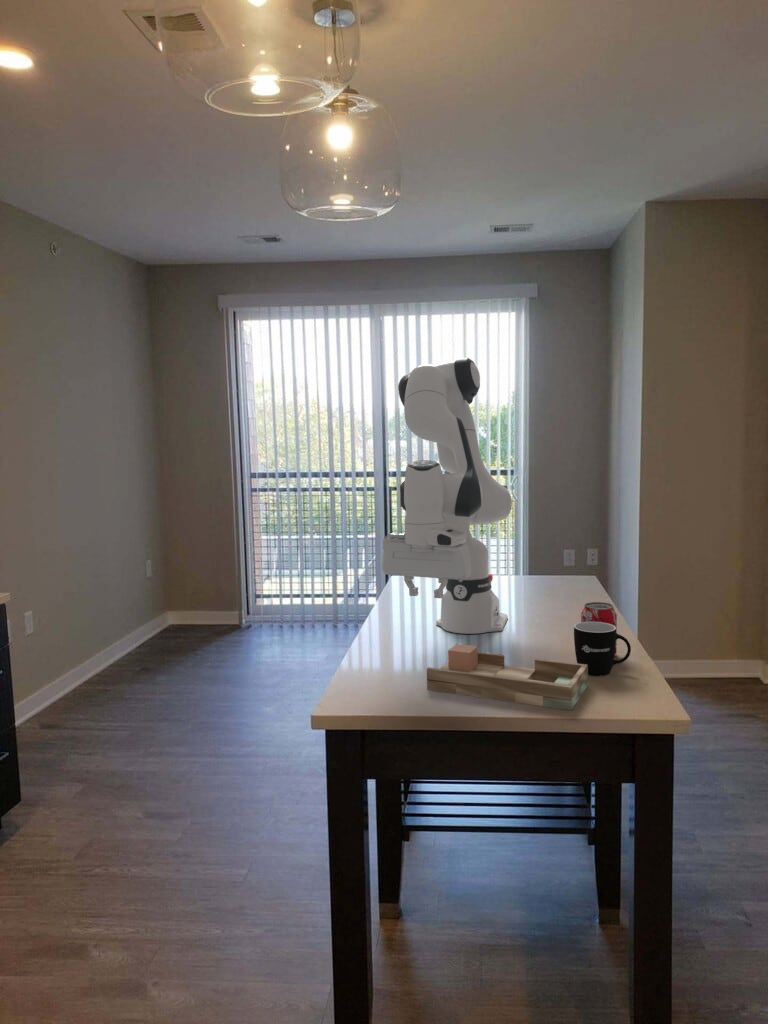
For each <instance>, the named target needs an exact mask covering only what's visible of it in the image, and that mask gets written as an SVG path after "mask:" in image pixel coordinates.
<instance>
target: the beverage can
mask: <svg viewBox="0 0 768 1024" xmlns="http://www.w3.org/2000/svg"><path fill="white" fill-rule="evenodd" d="M614 608H615V607H614V605H613V604H612V603H610V602H609V603H608V602H600V601H593V602H592V601H591V602H587V603H585V604H584V607H583V608H582V611H581V613H580V614H581V615H580V617H581V618H580V620H581V621H580V623H581V622H603V623H608V624H611V625H614V626H615V627H616V633H617V631H618V630H617V629H618V627H617V626H618V622H617V621H618V620H617V619H618V614H617V612H616V610H615V609H614ZM617 634H618V633H617ZM617 641H618V639H617V640H616V647H615V655H616V654H617V645H618V644H617Z"/></svg>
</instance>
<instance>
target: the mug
mask: <svg viewBox="0 0 768 1024" xmlns="http://www.w3.org/2000/svg"><path fill="white" fill-rule="evenodd" d="M618 639H619V640H622V641H623V642H624V643H625V644H626V647H627V650H626V651H627V652H626V654H625V655H624V656H623V657H622V658H621V659H620V658H619V659H615V655H616V654H615V647H616V640H617V641H618ZM573 640H574V641H573V642H574V651H575V652H574V653H575V659H576V663H578V664H586V665H588V676H590V677H604V676H607V675H609V674H610V673H611V671H612V669H613V667H614V666H615V665H619V664H622V663H624V662H626V660H628V659H629V657H630V656H631V652H632V651H631V650H632V648H631V647H632V646H631V644H630V641H629V640H628V638H626V637H625V636H623V635H621V634H619V633H616V627H615V626H614V625H611V624H608V623H603V622H581V621H580V622H578V623H575V624H574V626H573Z"/></svg>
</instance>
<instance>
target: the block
mask: <svg viewBox="0 0 768 1024" xmlns="http://www.w3.org/2000/svg"><path fill="white" fill-rule="evenodd" d="M478 647H479V646H476V645H467V644H458V643H456V644H455V645H454V646H452V647H451V648H448V650H447V655H448V656H447V660H448V661H447V663H448V668H451V669H459V670H467V671H471V670H472V669H473V668H474V667H475V666H476V665H478V652H479V649H478Z"/></svg>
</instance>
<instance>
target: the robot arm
mask: <svg viewBox="0 0 768 1024" xmlns="http://www.w3.org/2000/svg"><path fill="white" fill-rule="evenodd" d="M397 386H398V387H397V389H398V390H397V391H398V396H399V399H400V402H401V404H402V405H403V408H404V409H403V412H404V419H405V420H404V421H405V424H406V427H407V428H408V430H409V431H410V432H412V433H413V435H415V436H417V437H418V438H421V439H422V440H425V441H428V442H433V443H436V448H437V454H438V461H439V462H437V461H434V460H430V459H429V460H427V459H426V460H425V459H423V460H422V459H421V460H415V461H411V462H410V463H408V464H407V465H406V469H405V474H404V480H403V481H402V482H401V483H400V485H399V490H400V491H399V492H400V494H399V495H400V508H402V509H403V510H404V511H405V518H404V533H388V534H387V535H385V536H384V538H383V539H382V549H383V554H382V568H381V569H382V571H383V573H384V574H385V575H387V576H401V577H402V576H403V581H404V583H405V585H406V586H407V588H408V590H409V591H408V595H409V597H417V596H419V587H417V586H415V584H414V582H413V580H414V577H416V578H417V577H418V578H430V579H438V580H437V581H438V583H439V586H438V588H436V589H434V590H433V597H434V599H440V600H441V601H440V602H441V603H440V619H437V620H436V621H435V624H436V626H439V627H441V628H442V629H443V630H445V631H447V632H450V633H456V634H465V635H466V634H468V635H469V634H471V635H472V634H473V635H475V634H484V633H489V632H490V633H491V632H503V629H504V627H505V625H506V622H507V620H508V614H506V613H504V612H500V599H499V597H498V596H497V595H496V594H495V592H493V590H492V582H493V579H494V578H493V576H494V575H493V574H491V573H490V574H489V550H488V548H487V547H486V545H485V543H483V542H482V541H480V540H479V539H477V538H475V537H473V536H472V533H471V530H470V526H477V525H489V524H490V525H491V524H494V523H497V522H500V521H504V520H505V519H507V518H508V517H509V515H510V513H511V511H512V508H513V500H512V496H511V493H510V491H509V490H508V488H506V487H505V486H504V485H503V484H501V483H499V482H498V481H497V480H496V479H495V478H494V477H493V476H492V475H491V474H490V472H489V471H488V469H487V467H486V465H485V464H484V461H483V459H482V456H481V450H480V446H479V442H478V441H479V440H478V436H477V431H476V430H477V429H476V423H475V421H474V417H473V413H472V410H471V407H470V405H471V404H472V403H473V400H474V398H475V397H476V396H477V394H478V392H479V390H480V387H481V375H480V371H479V368H478V366H477V365H476V364H475V362H474V361H473V360H472V359H471V358H469V357H457V358H455V359H453V360H446V361H445V360H444V361H440V362H437V363H434V364H428V363H427V364H420V365H418V366H416V367H414V368H413V369H412V370H411V371H410V372H408V373H406V374H405V375H403V376H402V377H401V378H400V380H399V382H398V385H397ZM442 469H443V470H444V471H445V472H447V473H443V472H442ZM444 589H445V590H446V591H445V592H444Z"/></svg>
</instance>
